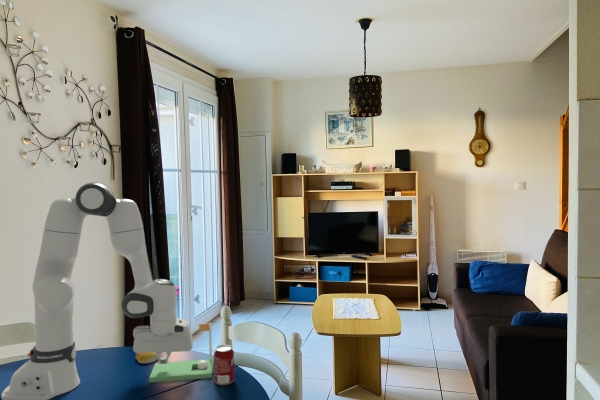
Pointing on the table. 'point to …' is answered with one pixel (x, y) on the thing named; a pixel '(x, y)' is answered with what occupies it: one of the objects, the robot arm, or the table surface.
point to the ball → (202, 365)
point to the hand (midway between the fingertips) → (163, 363)
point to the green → (183, 366)
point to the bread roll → (146, 357)
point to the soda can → (224, 365)
